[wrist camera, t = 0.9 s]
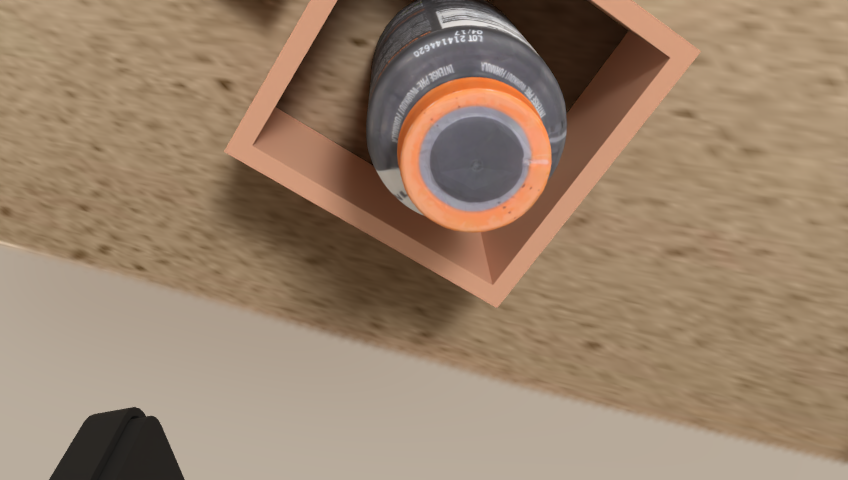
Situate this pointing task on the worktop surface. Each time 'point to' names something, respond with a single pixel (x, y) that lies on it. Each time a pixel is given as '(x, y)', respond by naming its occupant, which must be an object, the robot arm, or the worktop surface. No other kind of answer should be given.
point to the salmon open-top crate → (416, 234)
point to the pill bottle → (463, 115)
